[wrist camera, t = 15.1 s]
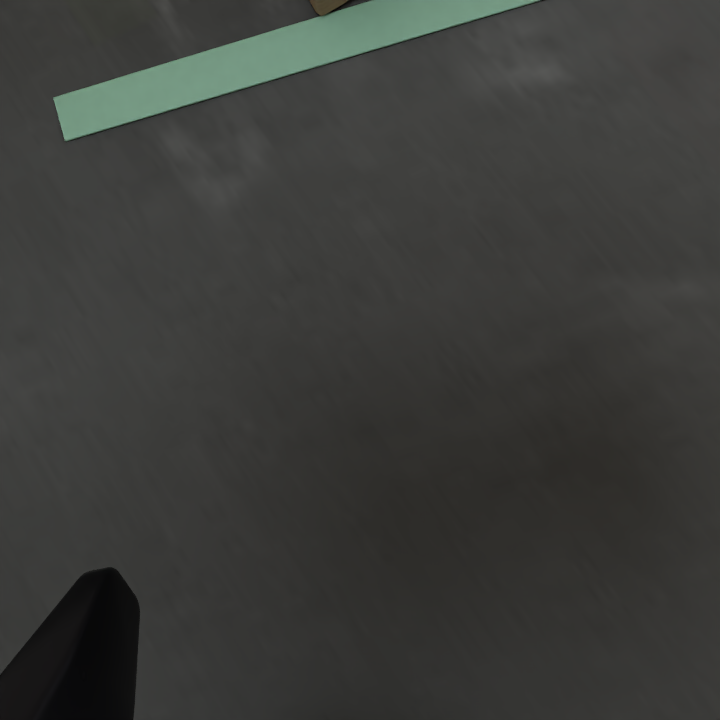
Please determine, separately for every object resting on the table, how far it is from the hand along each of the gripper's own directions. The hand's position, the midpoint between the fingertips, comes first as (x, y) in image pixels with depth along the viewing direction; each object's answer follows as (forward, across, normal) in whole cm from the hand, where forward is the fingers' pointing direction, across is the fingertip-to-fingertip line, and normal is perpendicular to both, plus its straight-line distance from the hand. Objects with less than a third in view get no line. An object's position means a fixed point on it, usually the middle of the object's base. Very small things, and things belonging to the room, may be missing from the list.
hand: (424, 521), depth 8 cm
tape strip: (+18, -1, -4) cm, 18 cm away
